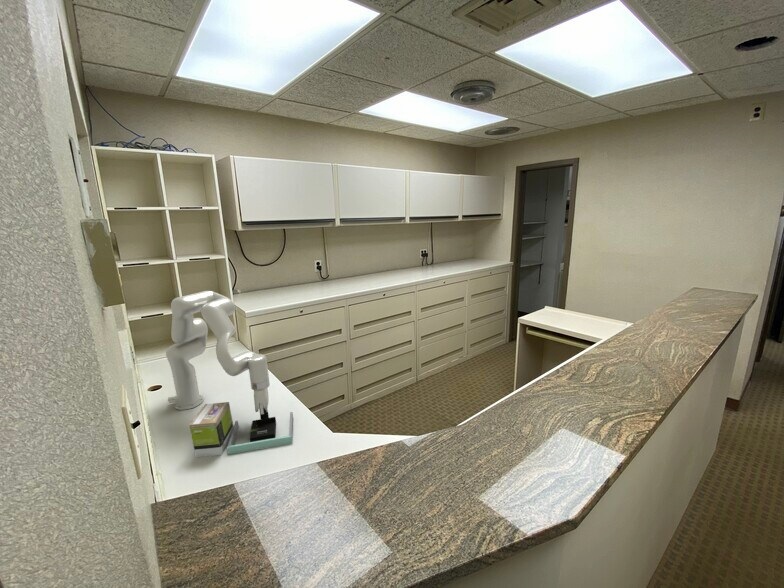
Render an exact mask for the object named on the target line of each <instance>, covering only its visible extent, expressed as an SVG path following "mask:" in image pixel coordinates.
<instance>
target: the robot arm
mask: <svg viewBox="0 0 784 588" xmlns="http://www.w3.org/2000/svg"><path fill="white" fill-rule="evenodd" d="M170 309H171V315H172V317H171V318H172V320H171V333H170V336H171V340H172V342H173V343H174V344H172V345H170V346H169V347H168V348H167V349H166V351H165V357H166V359H167V361H168V364H169V366H170V369H171V374H172V378H173V384H174V390H175V394H176V395H174V396H171V397H170V396H169V397H168V398H167V402H168V403H169V404H173V403H174V409H176V410H178V411H184V410H185V411H187V410H190V409H193V408H196V407H199V406H200V405H201V404H202V403H203V402H204V400H205V398H204V396H203V395H201V394H200V390H199V385H198V379H197V375H196V373H197V372H196V368H195V366H194V365H193V364H192V363H191V362H190V360H192V359H194V358H196V357H198V356H200V355H203V354H204V353H205V351H206V349H207V343H208V335H209V334H208V333H209V330H208V327H209V329H210V331H212V333H213V335H214V337H215V339H216V344H215V352H216V359H217V361H218V363H219V364H220V366H221V367H222V369H223V371H225V373H226V374H227V375H229V376H231V377H236V376H239V375H241V374H243V373H244V372H246V371H248V372H249V373H248V374H249V379H250V381H249V382H250V388H251V390H253V401H254V402H253V403H254V411H255V412H256V413H257V412H259V417H260V418H259V419H265V418H270V417H269V416H270V415H269V411H268V408H269V389H268V388H269V387H270V384H271V383H270V377H269V368H268V361H267V360H268V359H267V356H266V355H265V354H262V353H256V352H254V351H253V350H252V351H251V350H246V351H243V352H242V353H239V354H237V355H234V356H233V357H232V355H231V354H230V352H229V349H228V345H229V341H230V338H232V336H233V335H234V334H235V333H236V331H237V329H236V326H235V325H234V324H233V322H232V321H231V319H230V317H229V316H231V315H233V314H234V313H236V305H235V303H234V302H233V300H232V299H230V297H227V296H225V295H223V294H220V293H217V292H215V291H212V290H203V291H200V292H196V293H192V294H191V293H190V294H187V295H183V296H179V297H178V296H177V297H175V298H174V299H172V301H171V303H170ZM197 313H200V314H201V316H202V317H203V318H201V317H195V316H194V314H197Z"/></svg>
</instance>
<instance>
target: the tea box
mask: <svg viewBox="0 0 784 588" xmlns="http://www.w3.org/2000/svg"><path fill="white" fill-rule="evenodd" d="M230 405H231V404H230V402H229V401H225V402H214V403H212V402H211V403H205V404H204V405H203V406H202V408H201V409H200V410H199V412H198V413H197V414H196V416H194V418H193V419H192V421H191V423H189V431H190V435H191V440H192V444H193V448H194V449H193V450H194V455H195V457H196V458H205V457H213V456H222V455H223V453H224V451H225V449H227V448H226V447H228V443H229V440H230V437H231V434H232V430H233V427H234V421H233V416H232V411H231V406H230Z"/></svg>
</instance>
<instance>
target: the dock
mask: <svg viewBox="0 0 784 588" xmlns="http://www.w3.org/2000/svg"><path fill="white" fill-rule="evenodd" d="M239 426H240V425H239V420H235V422H234V423H233V430H232V434H231V437H230V440H229V442H228V444H227V446H226V447H227V448H226V449H227V455H233V454H238V453H245V452H250V451H256V450H262V449H267V448H271V447H272V448H273V447H279V446H283V445H289V444H293V435H294V434H293V432H294V431H293V430H294V428H293V427H294V413H293V411H290V412H289V427H288V435H286V436H278V437H275V438H272V439H266V440H260V441H255V442H250V441H249V442H244V443H239V444H235V442H236V437H237V436H238V435H237V434H238V431H239Z"/></svg>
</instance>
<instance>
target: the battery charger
mask: <svg viewBox="0 0 784 588" xmlns="http://www.w3.org/2000/svg"><path fill="white" fill-rule="evenodd" d="M251 421H252V422H251V428H250V433H249V442H255V441H260V440H266V439H272V438H276V431H277V419H276V416H272V417H269V418H265V419H261V418H259V419H254V420H251Z"/></svg>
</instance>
